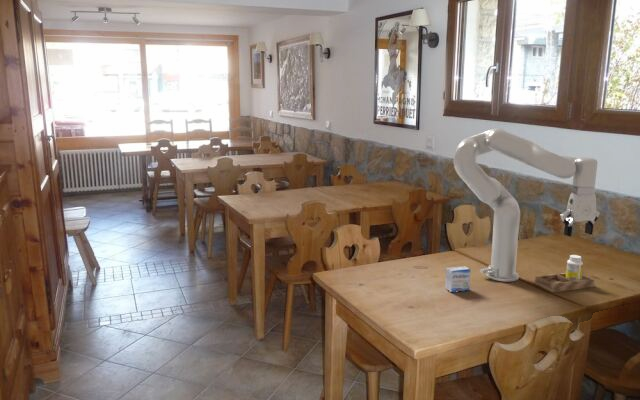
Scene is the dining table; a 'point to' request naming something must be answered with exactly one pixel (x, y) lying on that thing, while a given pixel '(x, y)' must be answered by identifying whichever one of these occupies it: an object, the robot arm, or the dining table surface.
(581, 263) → the supplement bottle
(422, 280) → the dining table surface
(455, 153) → the robot arm
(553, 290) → the divided well tray
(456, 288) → the medicine box
